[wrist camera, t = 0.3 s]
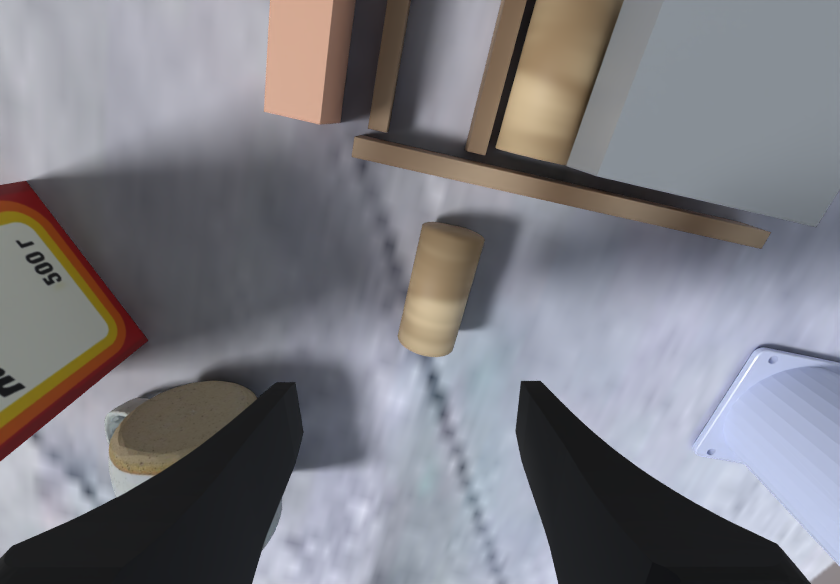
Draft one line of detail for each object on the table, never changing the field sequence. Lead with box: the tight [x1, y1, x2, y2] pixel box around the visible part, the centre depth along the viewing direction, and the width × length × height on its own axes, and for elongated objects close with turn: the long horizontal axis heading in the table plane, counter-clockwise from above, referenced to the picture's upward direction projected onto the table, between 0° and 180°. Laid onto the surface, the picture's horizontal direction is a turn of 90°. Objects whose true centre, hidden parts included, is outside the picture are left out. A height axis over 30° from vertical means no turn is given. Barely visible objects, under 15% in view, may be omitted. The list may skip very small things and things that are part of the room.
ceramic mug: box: [105, 381, 282, 550], centre depth 22 cm, size 11×8×8 cm
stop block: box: [264, 0, 356, 124], centre depth 15 cm, size 2×7×4 cm, turn 167°
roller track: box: [352, 0, 771, 249], centre depth 16 cm, size 19×9×3 cm, turn 78°
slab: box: [566, 0, 840, 227], centre depth 14 cm, size 8×6×3 cm
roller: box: [398, 222, 485, 357], centre depth 20 cm, size 6×3×3 cm, turn 168°
